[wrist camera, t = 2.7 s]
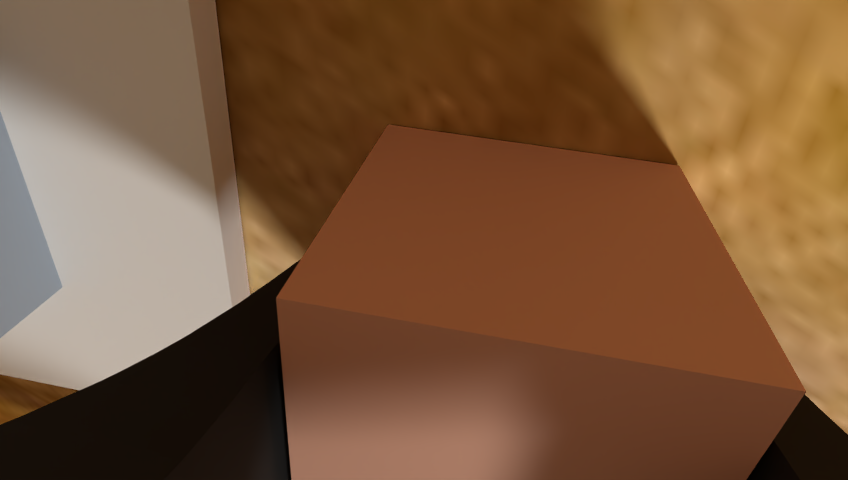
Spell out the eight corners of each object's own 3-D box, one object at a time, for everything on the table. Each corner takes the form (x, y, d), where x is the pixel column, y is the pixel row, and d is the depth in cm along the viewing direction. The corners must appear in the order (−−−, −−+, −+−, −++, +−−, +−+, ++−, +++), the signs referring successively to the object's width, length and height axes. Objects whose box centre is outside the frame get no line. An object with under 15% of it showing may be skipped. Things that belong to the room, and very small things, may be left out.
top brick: (601, 374, 12) (640, 635, 8) (378, 334, 12) (298, 558, 8) (679, 165, 9) (805, 391, 5) (388, 124, 10) (275, 297, 5)
